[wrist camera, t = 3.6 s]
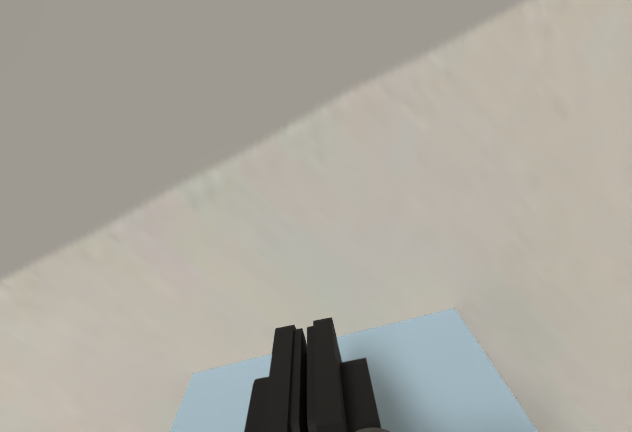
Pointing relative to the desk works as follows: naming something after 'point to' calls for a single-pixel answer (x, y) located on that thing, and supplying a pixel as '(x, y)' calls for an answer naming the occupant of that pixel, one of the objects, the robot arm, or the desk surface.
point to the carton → (383, 382)
